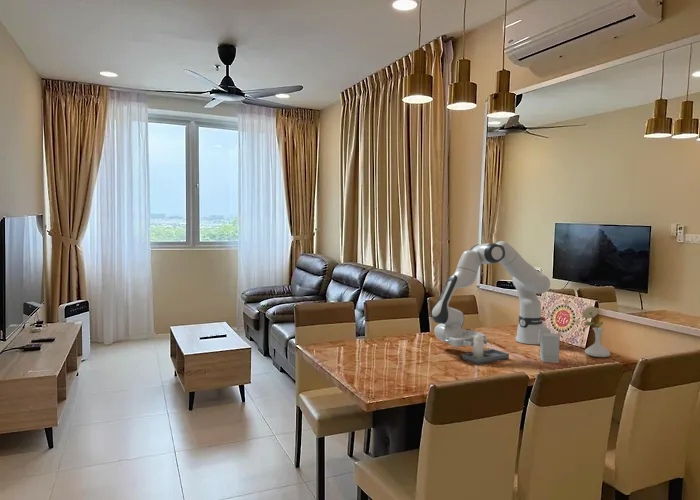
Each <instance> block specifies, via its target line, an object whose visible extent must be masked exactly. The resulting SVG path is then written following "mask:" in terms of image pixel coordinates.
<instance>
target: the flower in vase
mask: <svg viewBox="0 0 700 500" xmlns="http://www.w3.org/2000/svg"><path fill="white" fill-rule="evenodd" d="M598 314H599V309H598V307H596V306H594V305H592V306H590V305H589V306H588V307H585V309H583V311H582V313H581V315H582V318H586V319H591V320H592V321H587V322H585V323H584V326H588V327H589V326H593V325H594V327H592V330H593V331H594V336H595V337H594V338H595V340H594V343H593V344H591V345H590V346H588V347H587V348H585V350H584V353H585V354H586V355H588V356H591V357H595V358H607V357H610V356H611V352H610V351H609V349H607V348H606V347H605V346H604V345H603V344H602V343H601V342H602V341H601V335H602V333H603V331H604V330H605V329H604V328H603V327H600V326H602V325H603V324H604V321H601V322H597V323H596V324H595V322H594V318H596V317H597V315H598Z"/></svg>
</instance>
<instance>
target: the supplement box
mask: <svg viewBox="0 0 700 500" xmlns="http://www.w3.org/2000/svg"><path fill="white" fill-rule="evenodd" d="M539 346H540V351H539V352H540V353H539V356H540V357H539V359H540V360H541V361H542V362H543V363H551V364H552V363H554V364H555V363H556V364H559V363H560V335H558V334H557V333H553V332H551V333H541V344H540V345H539Z"/></svg>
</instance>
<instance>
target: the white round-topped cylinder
mask: <svg viewBox="0 0 700 500" xmlns="http://www.w3.org/2000/svg"><path fill="white" fill-rule="evenodd" d="M484 345H485V344H484V338H483V336H481V335H479V334H478V335H475V336H474V338H473V346H472V352H473V357H474V358H477V359H480V358H483V350H484Z"/></svg>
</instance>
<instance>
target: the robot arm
mask: <svg viewBox="0 0 700 500" xmlns="http://www.w3.org/2000/svg"><path fill="white" fill-rule="evenodd" d="M497 263H499V264H500V265H501V266H502V268H503V269H504V270H505V271H506V272H507V273H508V274H509V275H510V276H512V279H511V280H512V284H513V286H514V287H515V290H516V292H517V296H518V300H519V301H518V302H519V315H518V323H517V331H516V336H515V341H516V342H518V343H521V344H526V345H538V346H540V344H541V333H552V332H551V329H549V327H547V326H546V325H545V324H544V322H546V320H547V318H546V317H545V316H542V303H541V301H540V300H539V298H538V295H537V294H544V293H546V292H548V291H549V289H550V287H551V280H550V278H549V277H548V276H546V275H544V274H543V273H541V272H540V271H539V270H537V268H535V266H533V265H531V264H530V263H528V261H526V260H525V259H524V258H523V256H522V255H520V253H519V252H518V251H517V250H516V249H515V248H514V247H513V246H512V245H511V244H510V243H508V242H507V241H504V240H500V241H497V242H496V243H495V242H492V243H485V242H484V243H481V244H476V245H473V246H472V247H470V249H469V250H465V251H463V253H462V254H461V256H460V258H459V260H458V263H457V265H456V269H455V272H454V273H453V275H451V276H448V279H447V280H446V282H445V284H444V286H443V288H442V291H441V293H440V295H439V296H438V299H437V301H436V303H435V304H434V306H433V307H432V309H431V318H432V320H433V322H434V323H436V324H437V325H436V326H435V327H434V329H433V331H434V335H435V337H436V339H438V340H439V341H442V342H444V343H447V344H449V345H450V346H453V347H455V348H459V347H464V346H466V347H473V338H474V336H475V335H478V334H479V335H481V336H483V338H484V345H486V344H488V340H487V336H486V334H484V333H482V332H479V331H475V330H474V329H472V328H471V329H470V328H468V329H467V328H466V329H465V328H463V326H464V323H465V316H464V315H465V314H464V313H463V311H461V310H459V309H457V308H453V307H450V305H449V303H450V301H451V299H452V297H453V295H454V292H455V291H457V289H460V288H468V287H471V286H472V285H474V283H475V281H476V279H477V276H478V272H479V268H480V266H481V265H489V264H497ZM543 321H544V322H543Z"/></svg>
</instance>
